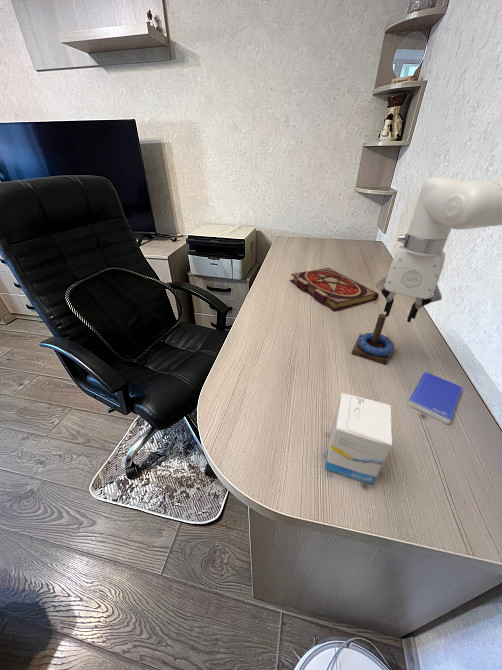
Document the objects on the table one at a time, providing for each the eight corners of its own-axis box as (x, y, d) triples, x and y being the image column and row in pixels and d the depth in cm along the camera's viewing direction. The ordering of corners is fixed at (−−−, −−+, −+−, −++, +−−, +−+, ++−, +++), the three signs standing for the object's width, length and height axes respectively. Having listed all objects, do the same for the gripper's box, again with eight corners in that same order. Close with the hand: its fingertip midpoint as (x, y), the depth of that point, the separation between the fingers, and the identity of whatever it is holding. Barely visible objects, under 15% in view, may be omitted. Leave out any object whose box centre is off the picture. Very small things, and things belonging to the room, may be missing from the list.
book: (377, 301, 103) (380, 288, 101) (332, 312, 96) (335, 299, 93) (328, 274, 124) (330, 263, 122) (288, 281, 116) (289, 270, 114)
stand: (391, 347, 79) (403, 312, 73) (385, 365, 73) (399, 328, 66) (359, 337, 83) (368, 304, 77) (351, 354, 77) (360, 318, 70)
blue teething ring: (394, 343, 78) (397, 337, 77) (390, 362, 72) (392, 355, 71) (361, 334, 82) (363, 328, 81) (354, 350, 76) (356, 344, 74)
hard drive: (451, 419, 57) (463, 387, 64) (409, 399, 61) (424, 371, 69) (448, 424, 58) (460, 391, 65) (407, 404, 62) (422, 375, 70)
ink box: (374, 486, 47) (394, 445, 41) (323, 469, 50) (335, 428, 43) (374, 444, 54) (391, 403, 47) (330, 431, 56) (340, 390, 50)
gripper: (379, 242, 60) (360, 314, 71) (471, 255, 53) (435, 334, 63) (385, 234, 65) (366, 302, 76) (470, 245, 58) (436, 319, 69)
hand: (398, 316), depth 70 cm, fingers open, 4 cm apart
